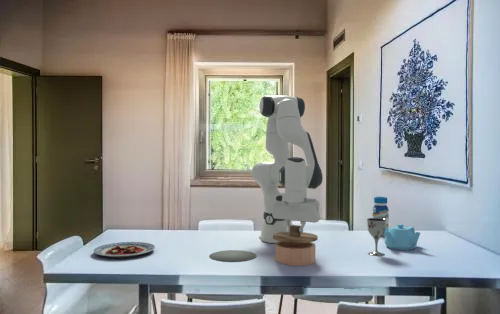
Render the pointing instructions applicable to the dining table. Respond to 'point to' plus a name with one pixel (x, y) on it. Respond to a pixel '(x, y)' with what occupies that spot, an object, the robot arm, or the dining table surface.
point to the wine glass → (376, 232)
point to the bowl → (295, 253)
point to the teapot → (401, 237)
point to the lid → (295, 236)
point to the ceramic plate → (124, 249)
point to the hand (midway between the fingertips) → (295, 231)
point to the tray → (233, 256)
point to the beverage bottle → (381, 209)
